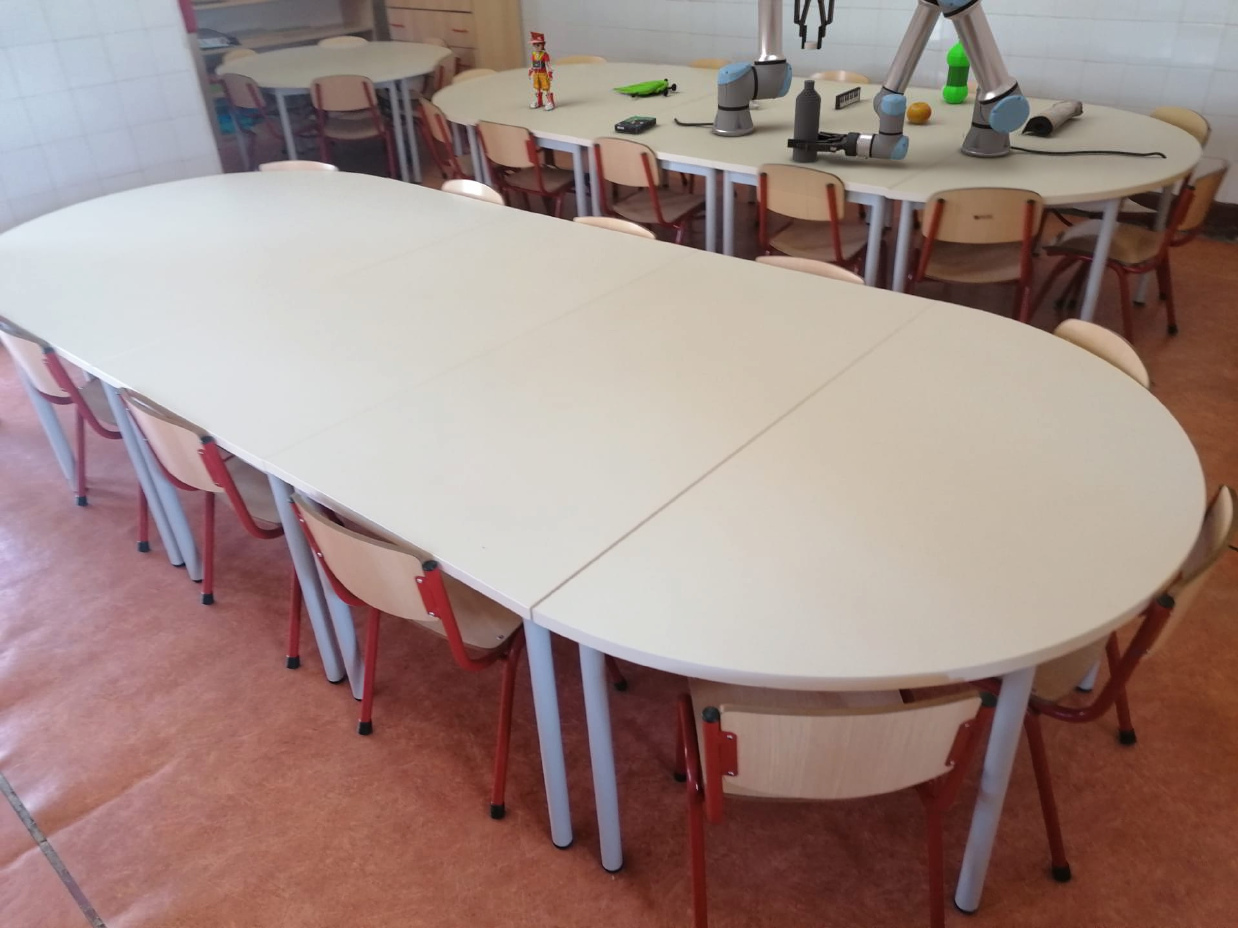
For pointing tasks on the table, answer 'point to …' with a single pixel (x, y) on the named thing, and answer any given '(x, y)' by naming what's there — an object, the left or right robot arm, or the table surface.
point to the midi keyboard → (847, 97)
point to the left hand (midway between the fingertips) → (811, 48)
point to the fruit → (919, 112)
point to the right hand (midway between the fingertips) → (792, 139)
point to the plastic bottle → (956, 75)
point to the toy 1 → (541, 71)
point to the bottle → (806, 120)
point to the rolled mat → (1053, 118)
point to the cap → (810, 45)
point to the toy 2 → (648, 88)
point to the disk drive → (635, 124)
